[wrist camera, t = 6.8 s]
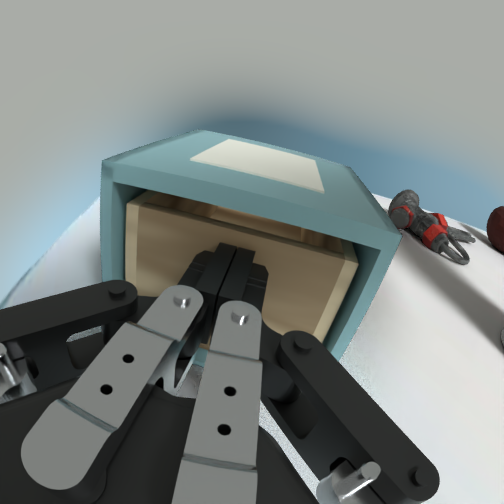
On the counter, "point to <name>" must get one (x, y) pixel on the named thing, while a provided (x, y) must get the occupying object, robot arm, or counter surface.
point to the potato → (496, 228)
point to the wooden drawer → (241, 235)
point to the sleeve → (255, 205)
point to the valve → (427, 226)
